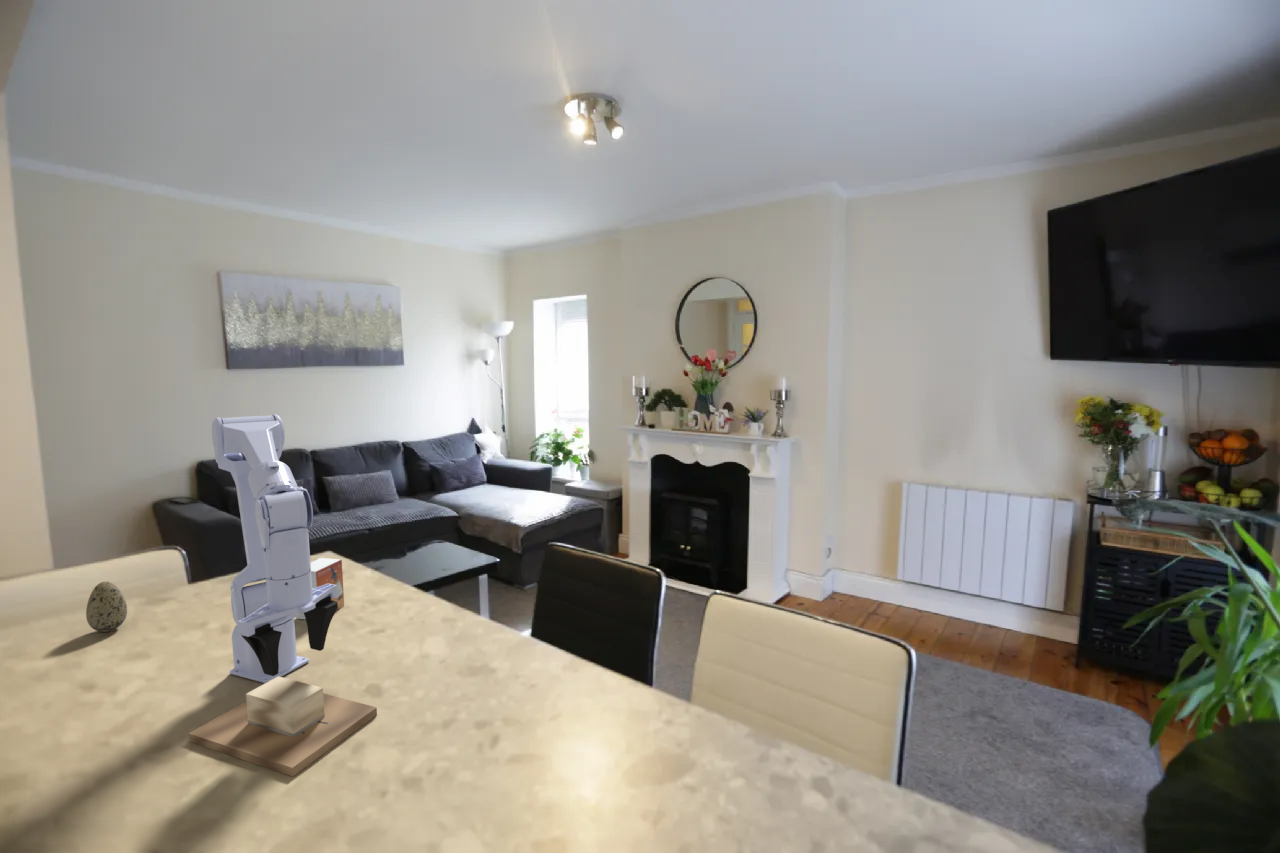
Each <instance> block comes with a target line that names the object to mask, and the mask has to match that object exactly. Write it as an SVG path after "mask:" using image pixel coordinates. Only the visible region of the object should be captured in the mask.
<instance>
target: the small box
mask: <svg viewBox="0 0 1280 853" xmlns="http://www.w3.org/2000/svg"><path fill="white" fill-rule="evenodd" d="M310 564H311V579H312V588H316V587H319V586H322V585H325V584H327V583H328V584H334V585H337V597H335V598H333V599H331V600H332V601H337V602H338V609H337V610H339V609H341V608H343V607H344V606H345V594H344V593H345V592H344V591H345V590H344V578H343V560H342V559H339V558H327V557H319V558H317V559H316V560H313V561H310ZM296 614H297V617H295V619H298V620H306V619H305V615H304V613H303V612H299V613H296Z"/></svg>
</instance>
